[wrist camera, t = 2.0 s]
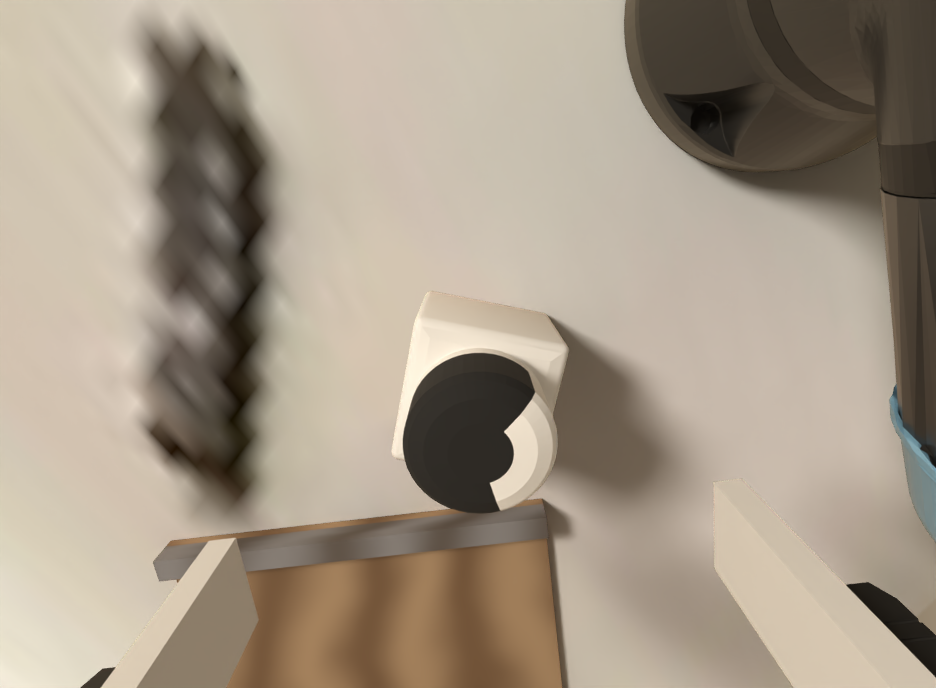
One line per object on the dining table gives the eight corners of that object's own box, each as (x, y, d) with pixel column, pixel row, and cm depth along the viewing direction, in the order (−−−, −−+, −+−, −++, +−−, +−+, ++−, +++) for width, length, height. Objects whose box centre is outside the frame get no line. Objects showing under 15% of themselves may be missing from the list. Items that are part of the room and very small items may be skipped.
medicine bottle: (405, 404, 33) (371, 519, 21) (426, 288, 31) (402, 346, 19) (521, 425, 33) (550, 550, 22) (549, 312, 31) (597, 383, 20)
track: (541, 498, 34) (546, 517, 32) (563, 706, 39) (568, 734, 37) (170, 540, 35) (153, 562, 33) (233, 739, 40) (221, 769, 38)
